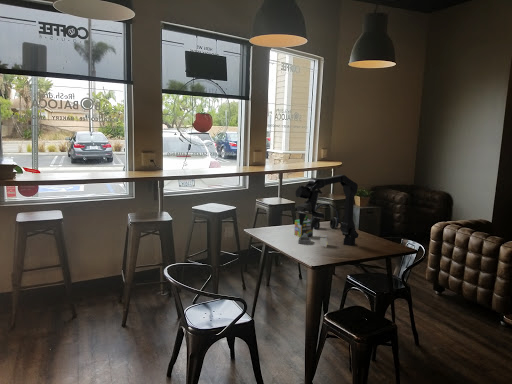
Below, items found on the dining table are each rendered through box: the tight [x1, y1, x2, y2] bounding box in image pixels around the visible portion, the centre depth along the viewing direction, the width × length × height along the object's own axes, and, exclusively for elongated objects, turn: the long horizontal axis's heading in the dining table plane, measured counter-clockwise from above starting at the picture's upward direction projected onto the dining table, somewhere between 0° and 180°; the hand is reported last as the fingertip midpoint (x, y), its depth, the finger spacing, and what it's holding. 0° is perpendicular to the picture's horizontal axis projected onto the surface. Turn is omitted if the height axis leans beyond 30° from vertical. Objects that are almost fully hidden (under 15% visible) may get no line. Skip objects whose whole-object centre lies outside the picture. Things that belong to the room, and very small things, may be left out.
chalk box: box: [294, 215, 314, 238], centre depth 256 cm, size 9×9×15 cm
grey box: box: [319, 234, 328, 248], centre depth 234 cm, size 4×5×6 cm
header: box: [297, 237, 312, 246], centre depth 240 cm, size 7×9×2 cm
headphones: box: [310, 203, 340, 230], centre depth 282 cm, size 20×7×18 cm, turn 101°
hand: (306, 227), depth 222 cm, fingers open, 9 cm apart
